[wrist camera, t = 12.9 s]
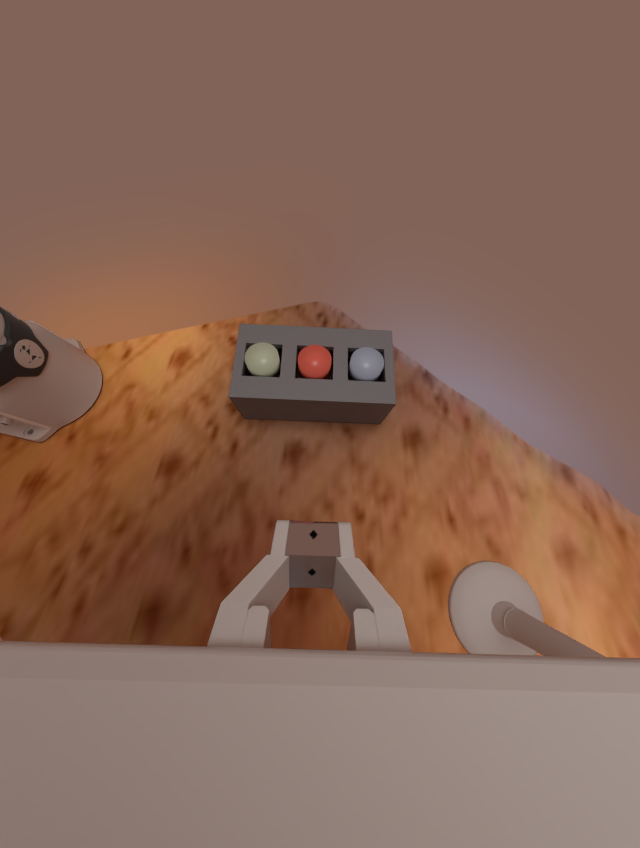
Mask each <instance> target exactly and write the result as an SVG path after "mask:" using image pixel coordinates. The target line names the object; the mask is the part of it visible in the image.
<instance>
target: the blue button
mask: <svg viewBox="0 0 640 848" xmlns="http://www.w3.org/2000/svg"><path fill="white" fill-rule="evenodd" d="M383 367H384V359H383V356H382V355H381V354H380V352H378V351H377V350H376V349H373V348H370V347H362V348H359V349H357V350H356V351H355V352H354V353H353V354H352V356H351V360H350V363H349V367H348V378H349V380H351V381H374V382H376V381H377V379H378V377H379V375H380V373H381V371H382V369H383Z"/></svg>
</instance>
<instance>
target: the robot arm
mask: <svg viewBox="0 0 640 848" xmlns="http://www.w3.org/2000/svg"><path fill="white" fill-rule="evenodd" d="M101 386H102V373H101V370H100V368H99V366H98V364H97V363H96V362H95V361H94V360H93V359H92V358H91V357H89V356H88V355H87V354H86V353H85V351H84V349H83V346H82V344H81V343H80V342H78V341H77V340H75V339H63V338H61V337H60V336H58V335H57V334H55V333H53V332H51V331H50V330H48V329H46V328H45V327H43V326H41V325H39V324H38V323H36V322H34V321H31V320H28V321H22V320H20V319H19V318H17V316H16V315H14V314H13V313H11V312H9V311H8V310H6V309H3V308H1V307H0V433H1V434H5V435H10V436H14V437H18V438H22V439H26V440H30V441H34V442H43V441H45V440H46V439H48V438H49V437H50V436H51V435H52V434H53V433H55V432H56V431H57V430H58V429H59V428H61V427H62V426H64V425H66V424H68V423H71V422H72V421H74V420H76V419H77V418H79V417H80V416H82V415H83V414H84V413H85V412H86V411H87V410H88V409H89V408H90V407H91V406H92V405H93V403H94V402H95V400H96V399H97V397H98V395H99V393H100V390H101ZM32 432H33V433H32ZM289 587H312V588H328V589H333V591H334V593H335V594H336V596H337V598H338V600H339V601H340V603H341V605H342V607H343V608H344V610H345V612H346V614H347V616H348V617H349V619H350V621H351V628H350V634H349V639H348V645H347V650H320V649H282V648H271V632H270V617H271V616H272V614H273V613H274V611H275V610H276V608H277V607H278V605H279V604H280V602H281V601H282V599H283V598H284V596H285V595H286V593H287V592H288V590H289ZM0 848H640V658H612V657H575V656H538V655H501V654H464V653H427V652H412V651H411V647H410V643H409V639H408V635H407V631H406V627H405V622H404V618H403V614H402V610H401V608H400V607H399V606H398V605H397V603H396V602H395V601H394V600H393V599H392V597H391V596H390V595H389V594H388V593H387V591H386V590H385V589H384V588H383V586H382V585H381V584H380V583H379V582H378V580H377V579H376V578H375V577H374V576H373V574H372V573H371V572H370V571H369V569H368V568H367V567H366V566H365V565H364V563H363V562H362V561H361V560H360V559H359V558H355V552H354V544H353V536H352V528H351V524H350V522H338V523H337V522H309V521H293V520H290V521H289V520H277V522H276V527H275V532H274V537H273V542H272V548H271V553H270V555H266V556H265V557H264V558H263V559H262V560H261V561H260V562H259V563H258V564H257V565H256V566H255V567H254V568H253V570H252V571H251V572H250V573H249V574H248V575H247V576H246V577H245V578H244V579H243V580H242V581H241V582H240V583H239V584H238V585H237V586H236V588H235V589H234V590H233V591H232V592H231V593H230V594H229V595H228V596H227V597H226V598H225V599H224V600H223V601H222V602H221V604H220V607H219V610H218V613H217V616H216V619H215V623H214V626H213V629H212V632H211V635H210V638H209V641H208V644H207V646H172V645H135V644H99V643H63V642H28V641H0Z"/></svg>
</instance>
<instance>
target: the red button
mask: <svg viewBox="0 0 640 848" xmlns="http://www.w3.org/2000/svg"><path fill="white" fill-rule="evenodd" d="M331 361H332V358H331V355H330V353H329V351H328V350H327V349H326V348H324V347H322V346H320V345H309V346H307V347H305V348H303V349H302V350H301V351H300V353H299V355H298V368H299V375H300V378H304V379H328V378H329V375H330V369H331Z"/></svg>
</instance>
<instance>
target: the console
mask: <svg viewBox="0 0 640 848" xmlns="http://www.w3.org/2000/svg"><path fill="white" fill-rule="evenodd" d="M261 342H264V343H269V344H271V345H273V346H274V347H275V348H276V349H277V351H278V354H279V359H280V362H281V370H280V377H258V376H251V374H250V372H249V370H248V367H247V365H246V363H245V353H246V351H247V350H248V348H249V347H250V346H252V345H254V344H256V343H261ZM309 345H320V346H322V347H324V348H326V349H327V350H328V351H329V353H330V355H331V358H332V361H331V364H333V380H328V379H304V378H295V377H296V362H298V355H299V353H300V351H301V350H302V349H303V348H305V347H307V346H309ZM362 347H370V348H373V349H376V350H377V351H378V352H380V354H381V355H382V356H383V359H384V367H383V369H382V371H381V373H380V375H379V377H378V379H377V381H376V382H374V381H351V380H348V365H349V363H350V360H351V356H352V354H353V353H354V352H355V351H356V350H357V349H359V348H362ZM229 398H230V399H231V401H232V402H233V403H234V405H235V406H236V407H237V409H238V410H239V412H240V413H241V414H242V416H243V417H244V419H267V420H292V421H317V422H341V423H366V424H381V423H382V421H383V420H384V419H385V417H386V416H387V415H388V414H389V412H390V411H391V410H392V408H393V407H394V406H395V405H396V395H395V378H394V361H393V344H392V331H385V330H363V329H342V328H321V327H299V326H278V325H256V324H240V326H239V333H238V340H237V346H236V353H235V360H234V366H233V373H232V380H231V386H230V393H229Z"/></svg>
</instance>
